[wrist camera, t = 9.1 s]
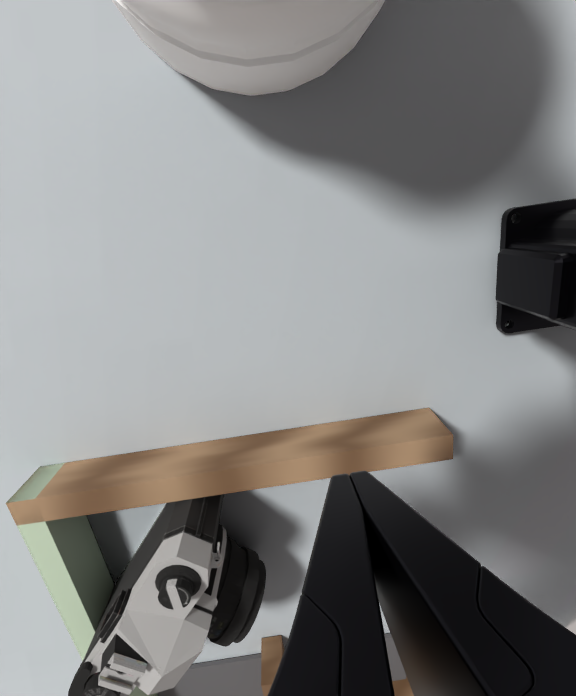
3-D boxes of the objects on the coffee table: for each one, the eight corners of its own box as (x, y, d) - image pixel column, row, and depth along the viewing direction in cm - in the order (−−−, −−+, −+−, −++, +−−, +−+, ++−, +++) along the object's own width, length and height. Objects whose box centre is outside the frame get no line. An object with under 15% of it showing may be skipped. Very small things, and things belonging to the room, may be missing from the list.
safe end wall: (65, 462, 22) (35, 498, 19) (170, 724, 30) (160, 776, 27) (39, 466, 22) (5, 503, 19) (152, 727, 30) (140, 779, 27)
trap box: (429, 407, 22) (453, 434, 19) (432, 683, 30) (449, 730, 28) (39, 466, 22) (5, 503, 19) (152, 727, 30) (140, 779, 27)
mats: (402, 631, 28) (404, 635, 28) (404, 674, 30) (406, 678, 30) (151, 670, 28) (150, 675, 28) (167, 712, 30) (166, 716, 29)
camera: (205, 627, 27) (186, 805, 18) (102, 596, 25) (27, 776, 17) (290, 488, 25) (313, 617, 16) (182, 444, 23) (144, 562, 14)
